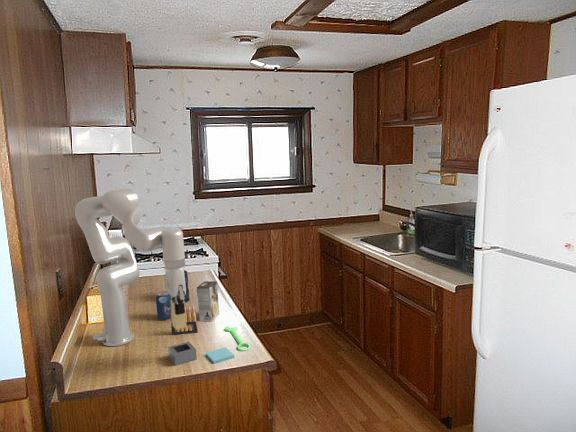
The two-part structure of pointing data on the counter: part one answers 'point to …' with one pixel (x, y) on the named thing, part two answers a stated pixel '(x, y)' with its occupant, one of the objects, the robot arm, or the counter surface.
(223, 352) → the teal board
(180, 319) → the brass peg
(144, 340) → the counter surface
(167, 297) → the soda can
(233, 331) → the wrench
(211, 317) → the coffee box
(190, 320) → the ammunition clip
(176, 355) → the socket block
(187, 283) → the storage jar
